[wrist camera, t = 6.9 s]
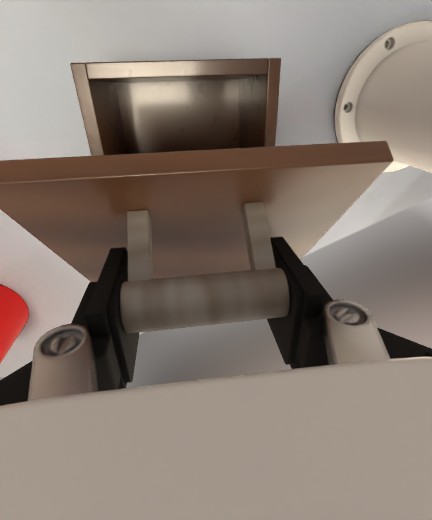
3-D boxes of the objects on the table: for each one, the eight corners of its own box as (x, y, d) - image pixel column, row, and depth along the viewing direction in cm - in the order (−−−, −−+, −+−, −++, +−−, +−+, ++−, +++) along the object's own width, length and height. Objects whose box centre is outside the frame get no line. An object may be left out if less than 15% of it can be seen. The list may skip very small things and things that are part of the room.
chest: (105, 72, 25) (69, 63, 16) (246, 68, 26) (281, 57, 17) (137, 247, 33) (125, 300, 25) (243, 238, 34) (265, 287, 26)
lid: (-27, 161, 8) (-63, 340, 6) (387, 139, 9) (445, 288, 8) (124, 299, 24) (124, 359, 23) (266, 285, 25) (276, 342, 24)
